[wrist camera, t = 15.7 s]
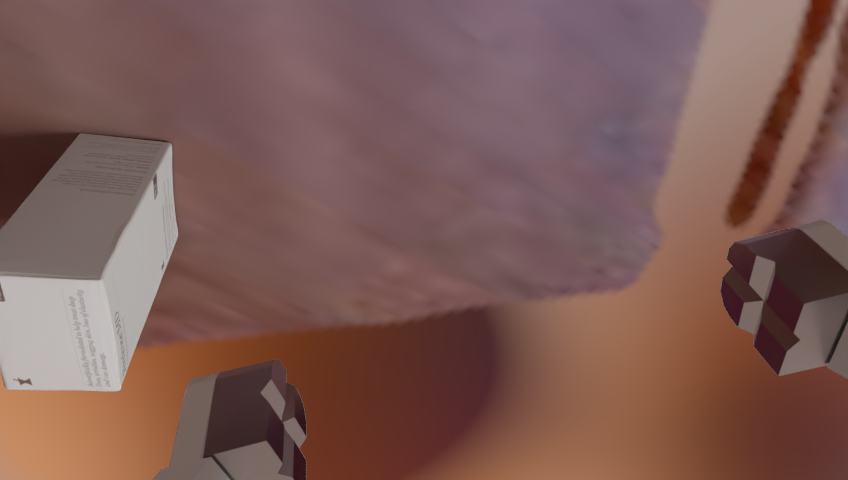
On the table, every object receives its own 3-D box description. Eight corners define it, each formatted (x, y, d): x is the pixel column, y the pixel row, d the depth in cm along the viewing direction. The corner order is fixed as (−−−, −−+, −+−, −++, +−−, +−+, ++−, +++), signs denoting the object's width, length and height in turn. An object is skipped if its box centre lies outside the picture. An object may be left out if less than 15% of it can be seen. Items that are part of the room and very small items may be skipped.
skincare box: (179, 234, 42) (129, 398, 30) (91, 229, 41) (3, 399, 29) (171, 134, 37) (108, 284, 26) (70, 124, 36) (-46, 278, 24)
